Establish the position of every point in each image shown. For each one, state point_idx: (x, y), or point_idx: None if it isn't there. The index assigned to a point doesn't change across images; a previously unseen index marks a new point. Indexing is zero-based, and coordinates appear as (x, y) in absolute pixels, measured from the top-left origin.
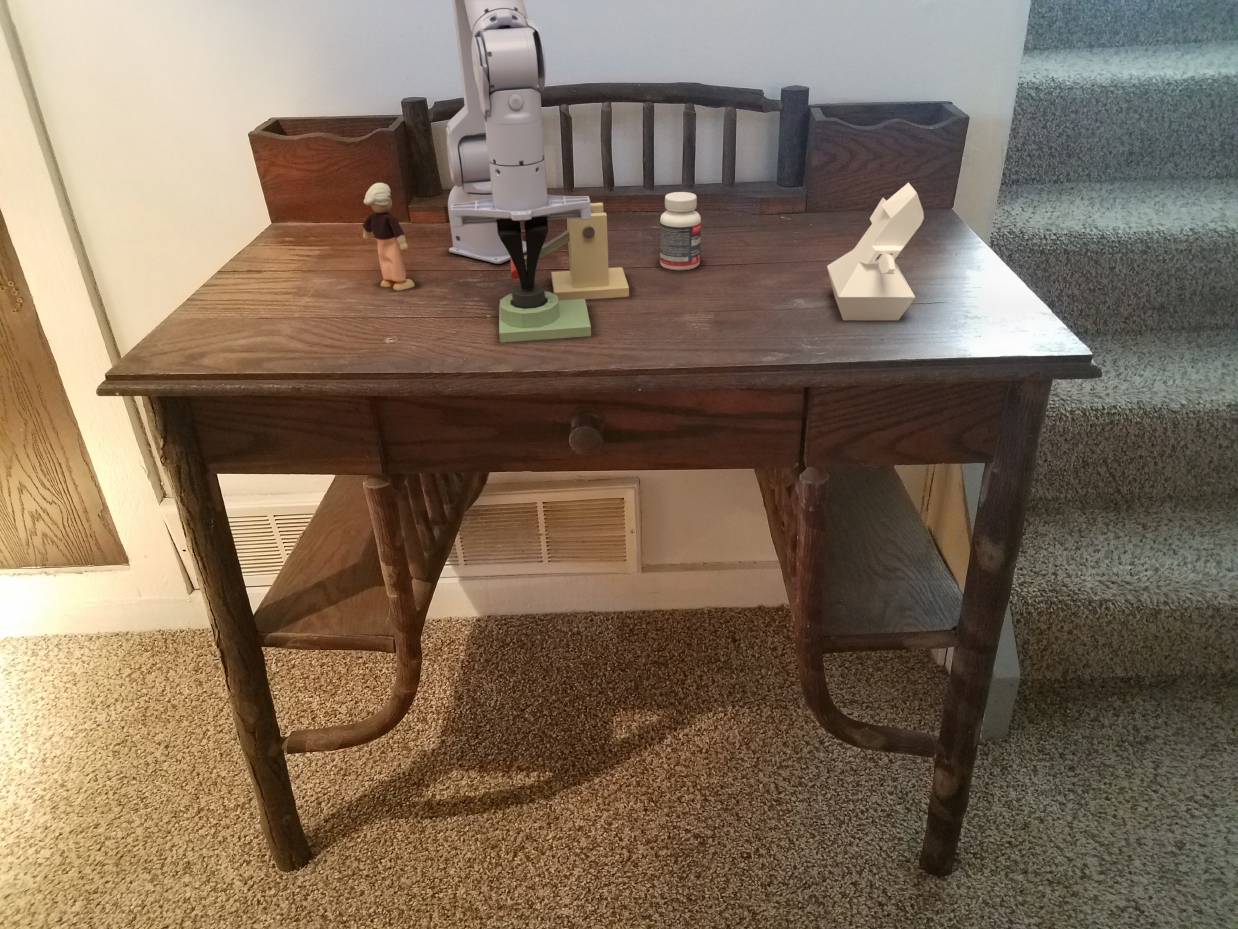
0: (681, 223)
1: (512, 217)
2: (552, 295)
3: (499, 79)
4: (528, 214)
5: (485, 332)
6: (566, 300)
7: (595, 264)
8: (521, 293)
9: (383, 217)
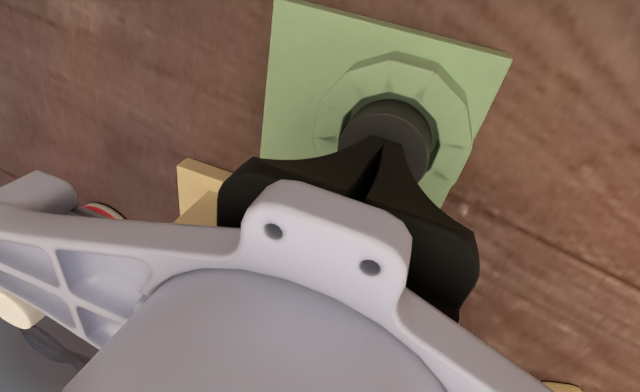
0: None
1: (407, 244)
2: (322, 147)
3: None
4: (271, 201)
5: (512, 134)
6: None
7: (205, 223)
8: (409, 138)
9: None
